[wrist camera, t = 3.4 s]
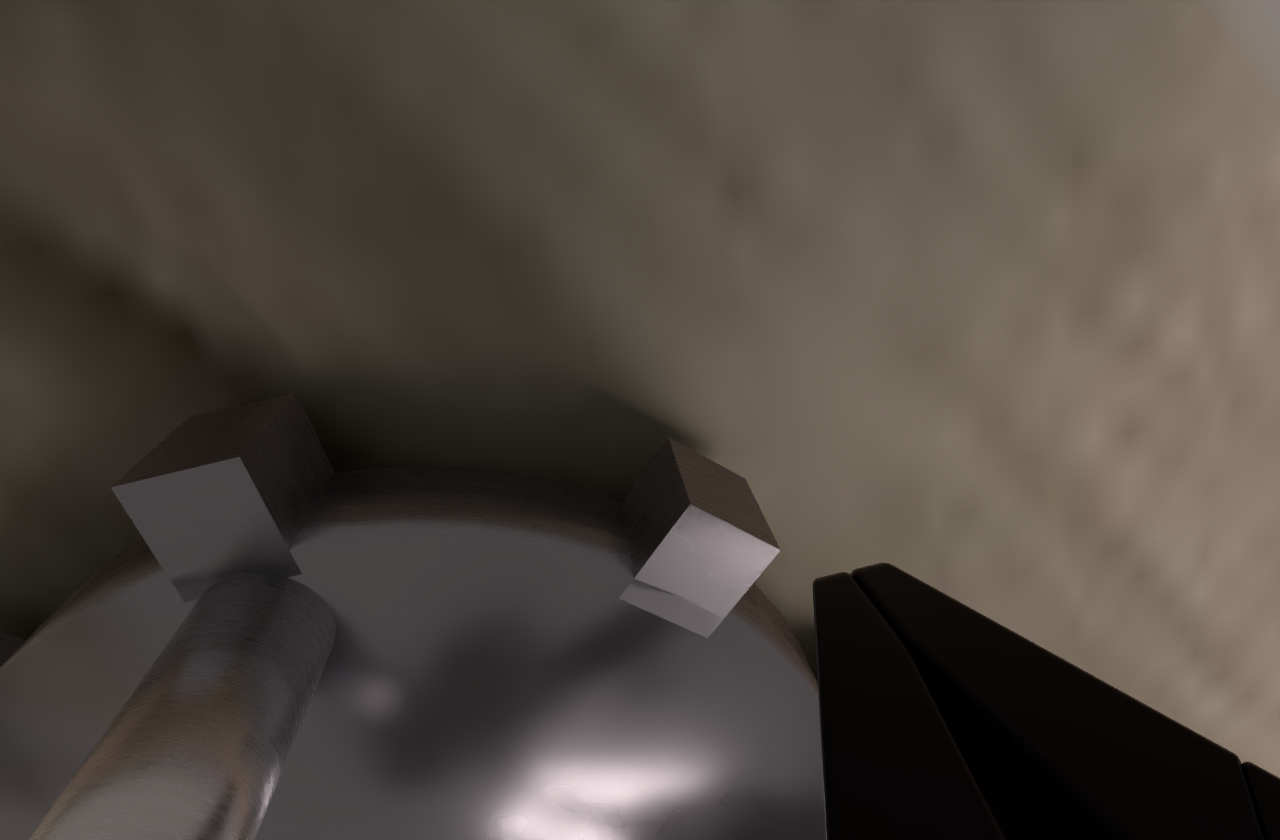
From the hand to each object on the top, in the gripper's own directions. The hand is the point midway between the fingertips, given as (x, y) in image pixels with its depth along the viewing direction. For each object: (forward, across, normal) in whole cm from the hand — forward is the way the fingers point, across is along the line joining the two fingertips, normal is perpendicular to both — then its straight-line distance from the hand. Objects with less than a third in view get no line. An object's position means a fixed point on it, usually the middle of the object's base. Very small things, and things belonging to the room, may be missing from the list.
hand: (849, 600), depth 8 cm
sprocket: (+4, +7, +5) cm, 9 cm away
